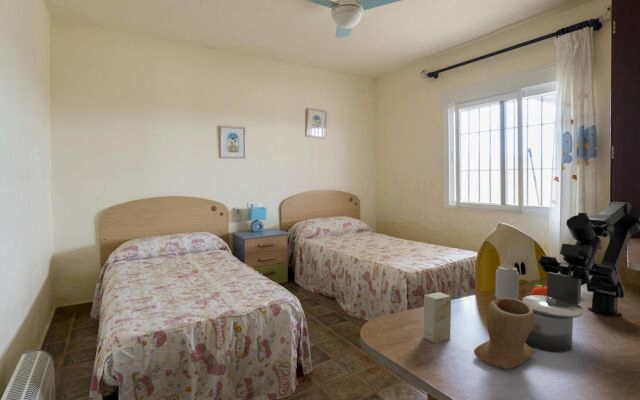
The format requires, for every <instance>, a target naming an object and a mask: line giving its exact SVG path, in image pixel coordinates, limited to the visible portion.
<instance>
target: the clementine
mask: <svg viewBox="0 0 640 400" xmlns="http://www.w3.org/2000/svg"><path fill="white" fill-rule="evenodd" d="M534 286H535V287H534ZM529 288H530V289H529V290H531V289H532V288H533V289H532V290H531V293H530V296H532V295H540V296H547V285H541V284H534V285H532V286H531V287H529Z"/></svg>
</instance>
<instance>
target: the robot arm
mask: <svg viewBox="0 0 640 400" xmlns="http://www.w3.org/2000/svg"><path fill="white" fill-rule="evenodd" d="M566 226H567V228H568V230H569V232H570V233H569V234H570V235H571V237H572V239H573V240H575V244H571V243H562V244H561V248H560V251H559V255H562V256H563V258H562V260H563V261H560V262H558V259H557V258H556V257H555V256H549V255H541V256H540V257H539V259H538V260H537V261H538V264H539V266H540V267H541V268H542V270H543V271H544V273H546V274H547V273H548V272H553V273H558V274H563V275H567V276H572V277H577V278H581V287H582V286H584V285H585V284H586V291H587V292H589V293H592V298H591V306H590V307H587V310H589V311H591V312H594V313H598V314H600V315H603V316H605V317H609V316H611V317H612V316H621V315H623V312H620V311H618V300H619V299H624V298H625V294H626V289H625V286H624V284H623V282H622V278H621V276H620V273H619V269H620V266H621V263H622V260H623V258H624V256H625V253H626V250H627V247H628V245H629V243H630V240H631V237H632V236H634V235H635V234H637V233H639V232H640V209H639V208H637V207H634V206H633V205H631V203H630V202H623V201H613V202H610V203H609V205H608V206H607V207H605V208H604V209H602V210H601V211H600V212H599V213H597V214H593V215H588V214H587V212H578V213H577V215H573V216H571V217H569V218H568V219H567V220H566ZM610 235H611V237H610V239H609V242H608V244H607V246H606V249H605V251H604V254H603V257H602V259H601V262H600V263H596V259H595V258H596V255H597V253H598V251H599V250H602V245H601V243H602V239H600V237H601V238H608V237H609V236H610Z"/></svg>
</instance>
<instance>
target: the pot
mask: <svg viewBox="0 0 640 400" xmlns="http://www.w3.org/2000/svg"><path fill="white" fill-rule="evenodd" d="M573 329H574V318H560V317H553V316H547V315H543V314H539V313H536V312H534V321H533V327H532V329H531V331H530V333H529V335H528V337H527V339H526V341H525V343H526V344H527V345H528V346H529V347H531V348H532V349H536V350H538V351H544V352H549V353H567V352H569V351H571V350H572V349H573V331H574V330H573Z"/></svg>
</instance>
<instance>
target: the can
mask: <svg viewBox="0 0 640 400" xmlns="http://www.w3.org/2000/svg"><path fill="white" fill-rule="evenodd" d="M519 286H520V272H519V270H518V268H517V267H515V266H510V265H500V266H497V269H496V270H495V294H494V295H495V296H494V297H495V299H497V298H501V297H509V298H514V299H518V300H519V292H520V291H519V289H520V287H519Z"/></svg>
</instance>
